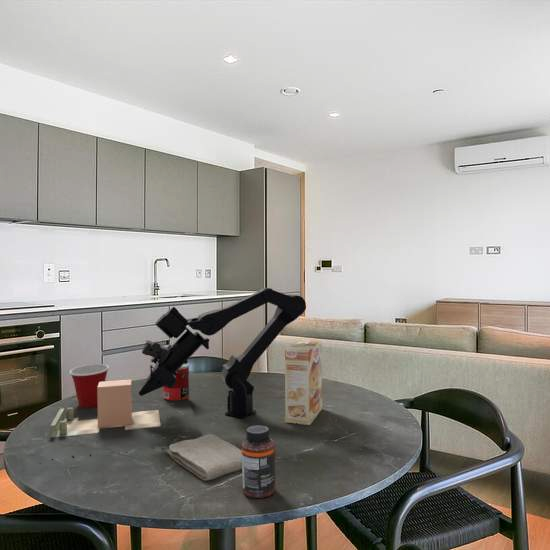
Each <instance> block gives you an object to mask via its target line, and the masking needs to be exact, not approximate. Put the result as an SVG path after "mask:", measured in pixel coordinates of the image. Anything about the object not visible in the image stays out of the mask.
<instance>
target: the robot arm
mask: <svg viewBox="0 0 550 550" xmlns="http://www.w3.org/2000/svg"><path fill="white" fill-rule="evenodd" d="M265 304H271V305H274V306H276V309H275V312H274V314H273V317H272V318H271V319H270V320H269V321H268V323H267V324H266V325H265V326H264V327H263V328H262V330H260V332H259V333H258V334H257V335H256V337H255V338H253V340H252V342H251V343H250V344H249V345H248V346H247V347H246V348H245V350H244V351H243V352H242V353H241V354H240V355H238V356H237V357H236V356H234V355H233V354H231V356H230V357H229V359H228V360H227V362H226V363H224V364H223V365H222V367H223V368H222V370H221V372H220V376H221V380H222V381H223V382H224V384H225V385H226V386H227V387H228V389H229V390H228V391H227V393H228V394H227V399H226V402H227V403H226V404H227V407H226V408H227V411H225V412H224V415H225V416H231V417H235V418H241V419H243V418H246V417H248V416H251V415H252V414H255V413H257V410H256V409H254V406H253V405H254V404H253V402H254V399H253V398H254V396H253V395H254V393H253V392H254V389H255V387H254V385H252V383H250V382H249V381H248V379H249V377H250V375H251V372H252V371H253V367H254V365H255V363H257V361H258V360H259V359H260V358H261V356H262V355H263V354H264V353H265V351H266V350H267V349H268V348H269V347H270V345H271V344H272V343H273V342H274V341H275V339H276V338H277V337H278V336H279V334H280V333H281V332H282V331H284V329H285V327H287V326H288V325H289V324H291V323H292V322H294V321H296V320H297V319H298V318H299V317H301V315H303V314H305V312H306V309H307V303H306V301H305V299H304V298H303V297H302V296H301V295H297V294H286V293H282V292H279V291H277V290H274V289H273V288H269V287H263V288H261V289H259V291H256V292H254V293H252V294H250V295H248V296H246V297H243V298H242V299H240V300H238V301H236V302H233V303H231V304H229V305H227V306H225V307H222V308H217V309H213V310H208V311H206V312H202V313H201V314H199V315H198V316H197V317H194V318H188V319H187V318H185V317H184V316H183V315H182V314H181V313H180V312H179V310H178V309H177V308H176V307H175V306H172V307H171V308H170V309H169V310H167V312H165V313H163V314H162V315H161V316H160V317H159V318H158V319H157V321H155V323H154V325H155V326H156V327H157V328H158V329H159V330H160V331H161V332H162V333H163V334H164V335H166V336H167V337H168V338H169V339H172V338H174V339H177V340H176V341H175V342H174V343H173V344H169V345H168V346H167V347H165V346H162V345H161V343H159V342H157V341H154V342H153V341H150V340H146V342H145V344H144V346H143V348H142V349H141V354H143V355H145V356H150V357H152V358H151V359H150V362H151V363H154V365H151V364H150V365H149V374H148V376H147V378H146V379H145V381H144V383H143V384H142V386H141V388H140V390H139V391H138V395H139V396H141V397H142V396H145V395H148V394H150V393H151V392H154V391H157V390H159V389H161V388H163V386H168V387H169V388H170V389H171V388H172V387H173V386H174V385H175V384H176V376H175V375H176V374H177V371H178V370H179V369H180V368H181V367H182V365H183V364H184V363H185V364H188V363H189V359H190V358H191V357H192V356H193V355H194V354H195V353H196V352H197V351H199V349H200V348H201V347H204V348H205V349H206V350H209V349H210V345H209V344H210V339H209V338H208V337H207V338H205V337H204V336H202V335H205V336H213V335H215V334H217V333H218V332H219V331H220V332H221V330H222V329H224V328H225V327H226V326H227V325H228V324H229V323H231V322H232V321H234V320H236V319H237V318H239V317H241V316H243V315H246V314H248V313H249V312H251V311H254V310H256V309H258V308H260V307H261V306H264V305H265ZM187 326H189V327H190V329H192V330H193V331H196V332H192V331H191V330H190V329H189V328H188V327H187ZM199 332H200V333H201V334H202V335H201V334H200V333H199Z"/></svg>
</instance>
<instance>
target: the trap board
mask: <svg viewBox="0 0 550 550" xmlns="http://www.w3.org/2000/svg"><path fill="white" fill-rule="evenodd" d="M65 409H66V410H65ZM65 411H66V417H65ZM79 418H80V417H79V416H77V417H74V407H67V408H62V407H60V408H59V410H58V412H57V414H56V416H55V417H54V419H53V421H52V422H51V423H50V438H53V439H54V438H59V437H60V438H62V437H71V436H80V435H90V434H99V433H100V430H101V429H109V428H110V429H111V428H116V427H117V428H119V427H121V428H122V427H124V430H125V431H129V430H136V429H147V428H155V427H161V419H160V412H159V409H152V410H144V411H142V410H141V411H135V412H134V411H132V424H127V425H117V426H107V427H98V418H94V419H92V418H91V419H84V420H79Z"/></svg>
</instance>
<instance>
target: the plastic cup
mask: <svg viewBox="0 0 550 550" xmlns="http://www.w3.org/2000/svg"><path fill="white" fill-rule="evenodd" d="M109 368H110V365H108V364H103V363H92V364H84V365H80V366H76V367H73V368H72V369H70V370H69V374H70V375H71V377H72V380H73V381H72V382H73V385H74V389H75V393H76V397H77V398H76V399H77V401H78V406H79V407H80V408H93V407H94V408H95V407H98V396H97V387H98V384H99V382H104V381H106V378H107V373H108V370H109Z"/></svg>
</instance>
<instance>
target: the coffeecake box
mask: <svg viewBox="0 0 550 550" xmlns="http://www.w3.org/2000/svg"><path fill="white" fill-rule="evenodd" d="M322 344H323V343H322V341H314V340H313V341H312V340H311V341H309V340H299V341H298V342H296V343H293V344H292V345H290V346H288V347H286V348H284V405H285V406H284V411H285V413H284V414H285V419H284V421H285V422H284V423H288V424H290V423H291V424H296V423H297V425H305V426H311V424H312V423H313V422H314V420H315V419H316V417H317V416H318V415H319V413H320V412H321V411H322V409H323V388H322V387H323V379H322V378H323V375H322V374H323V370H322V369H323V367H322V366H323V363H322V362H323V360H322V359H323V357H322V354H323V353H322V351H323V349H322V348H323V345H322Z"/></svg>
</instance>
